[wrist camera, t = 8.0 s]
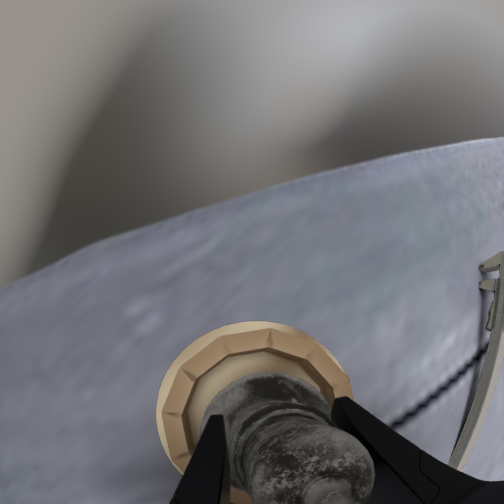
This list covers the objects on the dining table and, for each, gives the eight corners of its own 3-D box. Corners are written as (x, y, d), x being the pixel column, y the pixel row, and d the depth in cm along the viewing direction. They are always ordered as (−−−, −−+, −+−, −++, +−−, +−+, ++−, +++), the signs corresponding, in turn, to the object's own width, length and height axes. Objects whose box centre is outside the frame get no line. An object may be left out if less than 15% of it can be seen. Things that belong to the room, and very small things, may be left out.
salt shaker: (243, 490, 12) (282, 639, 1) (183, 407, 14) (88, 460, 3) (332, 434, 14) (498, 481, 3) (276, 353, 16) (386, 282, 5)
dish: (368, 354, 19) (393, 348, 15) (311, 512, 14) (326, 533, 10) (200, 297, 19) (195, 280, 16) (135, 459, 14) (118, 473, 11)
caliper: (476, 266, 23) (519, 237, 17) (483, 269, 23) (526, 242, 17) (437, 486, 14) (487, 501, 9) (446, 486, 14) (496, 499, 8)
